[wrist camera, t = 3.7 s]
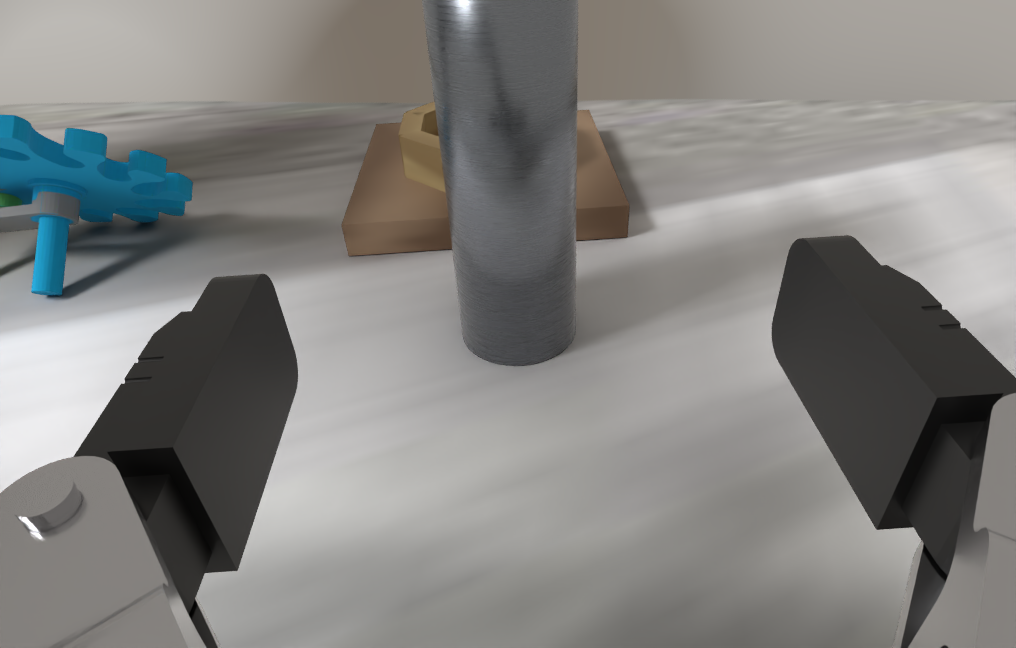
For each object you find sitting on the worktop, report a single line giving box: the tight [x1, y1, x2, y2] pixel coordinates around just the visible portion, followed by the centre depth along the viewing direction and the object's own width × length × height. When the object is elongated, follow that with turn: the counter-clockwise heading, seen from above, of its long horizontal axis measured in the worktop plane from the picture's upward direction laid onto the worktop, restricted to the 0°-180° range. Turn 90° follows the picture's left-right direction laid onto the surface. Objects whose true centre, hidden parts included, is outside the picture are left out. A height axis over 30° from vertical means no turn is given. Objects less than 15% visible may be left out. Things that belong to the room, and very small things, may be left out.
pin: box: [422, 0, 578, 366], centre depth 19 cm, size 5×5×14 cm
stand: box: [342, 102, 629, 256], centre depth 32 cm, size 12×12×4 cm
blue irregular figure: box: [0, 115, 193, 296], centre depth 27 cm, size 11×6×10 cm
